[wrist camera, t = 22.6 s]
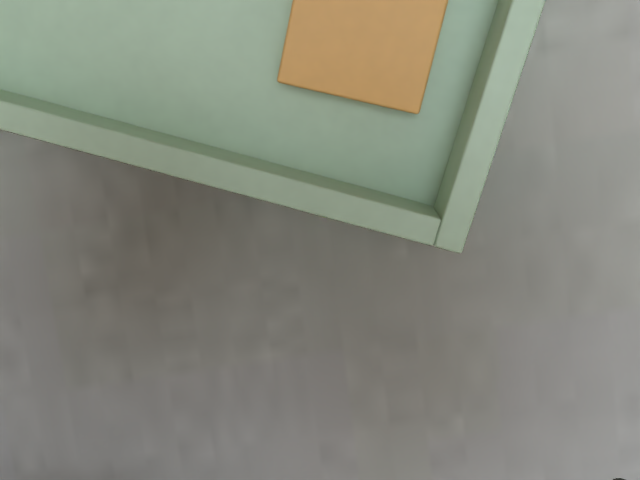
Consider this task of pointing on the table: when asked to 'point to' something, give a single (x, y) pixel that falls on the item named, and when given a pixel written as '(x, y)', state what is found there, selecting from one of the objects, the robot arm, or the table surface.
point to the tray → (266, 106)
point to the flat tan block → (363, 49)
